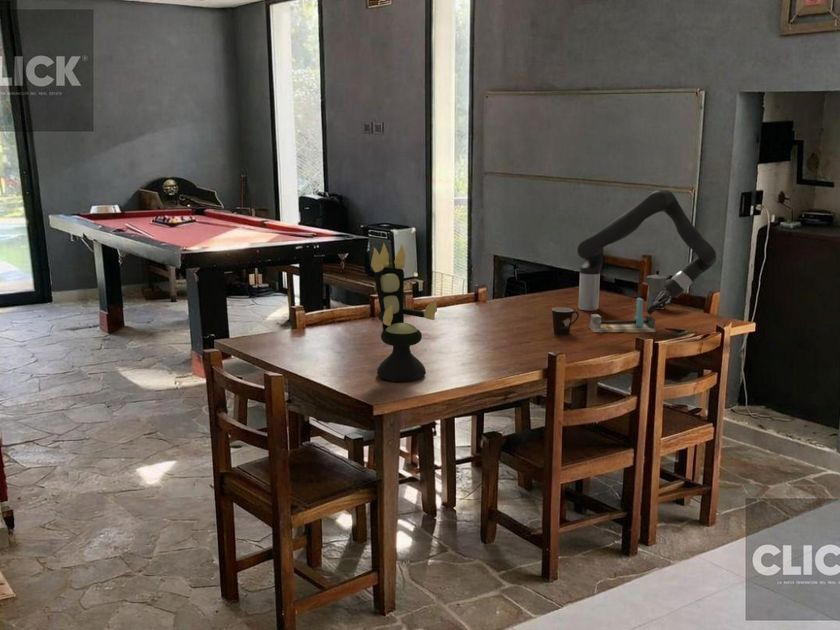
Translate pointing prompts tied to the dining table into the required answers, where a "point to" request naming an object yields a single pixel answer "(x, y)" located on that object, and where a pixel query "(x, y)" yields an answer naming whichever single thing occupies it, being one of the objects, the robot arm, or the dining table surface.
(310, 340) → the dining table surface
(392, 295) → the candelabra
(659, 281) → the coffeepot
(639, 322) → the teal upright slider
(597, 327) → the cord board
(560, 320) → the coffee mug
